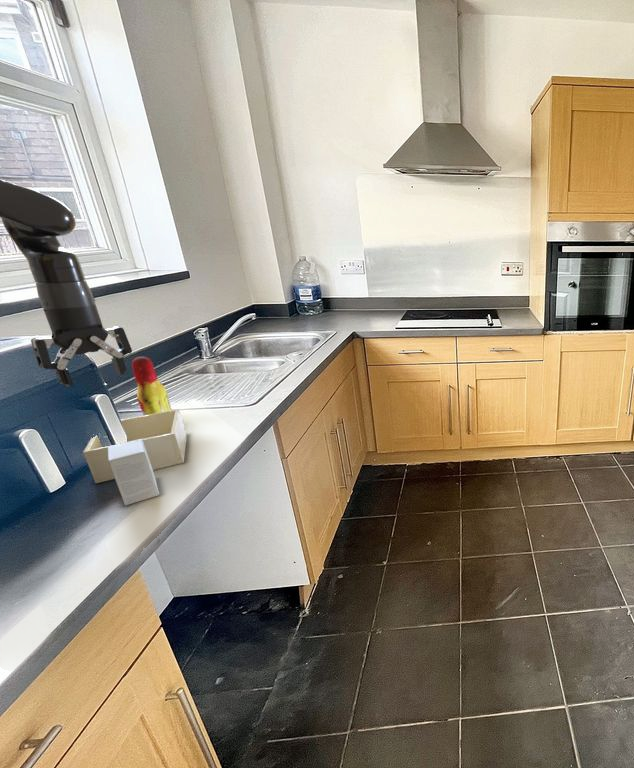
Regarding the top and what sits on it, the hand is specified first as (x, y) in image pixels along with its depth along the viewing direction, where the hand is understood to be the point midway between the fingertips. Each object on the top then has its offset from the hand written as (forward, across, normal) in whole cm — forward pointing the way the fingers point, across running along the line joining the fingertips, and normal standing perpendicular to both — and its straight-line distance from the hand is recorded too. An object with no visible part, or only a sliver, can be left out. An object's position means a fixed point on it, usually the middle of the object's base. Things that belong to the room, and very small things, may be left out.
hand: (96, 379), depth 89 cm
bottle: (+22, -17, -23) cm, 36 cm away
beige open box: (+22, -5, -3) cm, 23 cm away
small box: (+22, +4, +14) cm, 27 cm away
